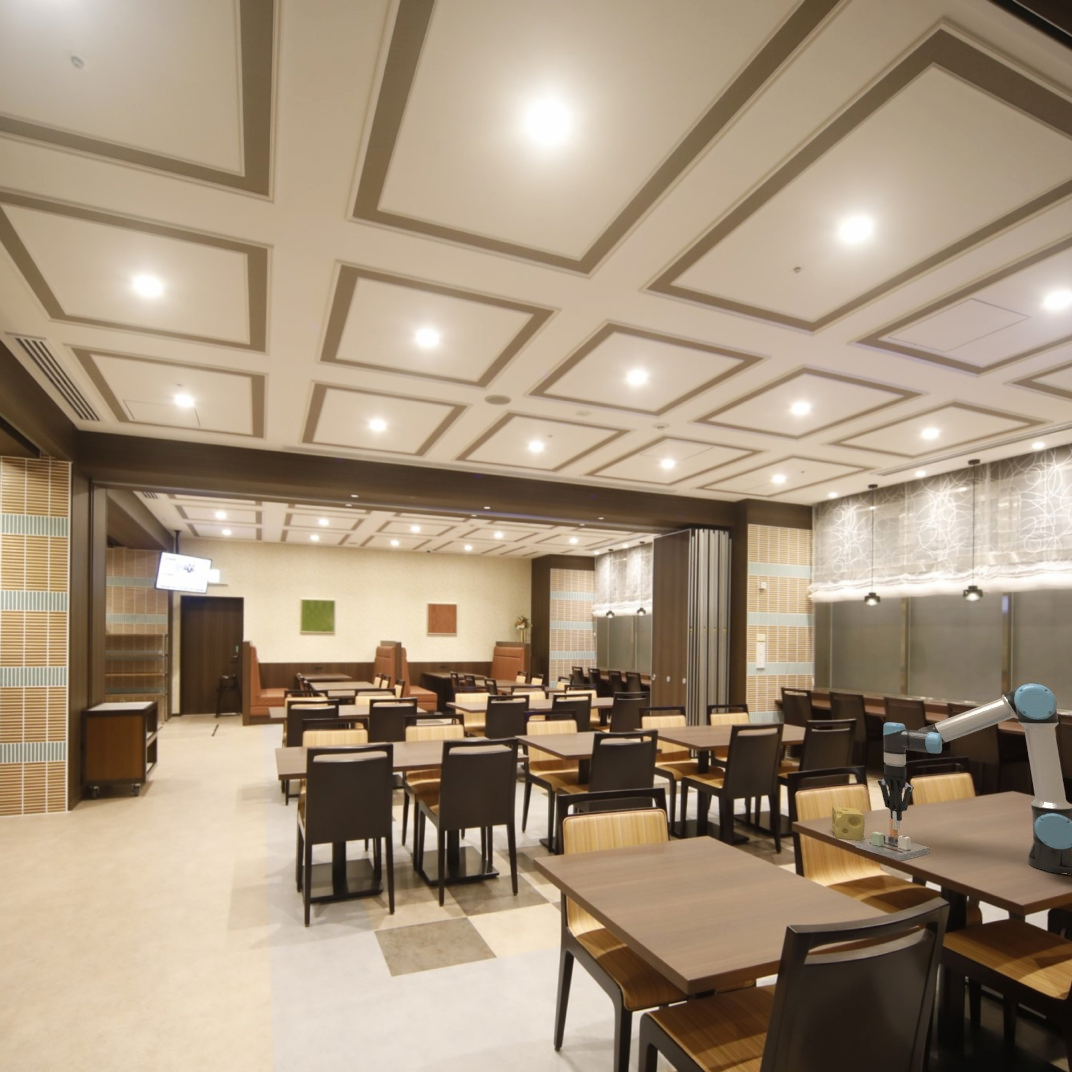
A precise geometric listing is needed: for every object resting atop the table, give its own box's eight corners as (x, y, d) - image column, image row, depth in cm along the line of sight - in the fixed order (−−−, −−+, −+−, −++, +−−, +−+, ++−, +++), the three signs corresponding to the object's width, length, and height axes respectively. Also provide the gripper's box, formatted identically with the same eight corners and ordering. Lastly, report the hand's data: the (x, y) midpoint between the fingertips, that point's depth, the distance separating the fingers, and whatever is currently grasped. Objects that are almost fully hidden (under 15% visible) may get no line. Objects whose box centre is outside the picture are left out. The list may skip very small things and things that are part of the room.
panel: (929, 853, 256) (929, 842, 257) (900, 861, 245) (900, 849, 246) (884, 840, 270) (884, 829, 271) (855, 847, 259) (855, 836, 260)
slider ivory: (910, 849, 253) (910, 836, 253) (906, 850, 251) (905, 837, 252) (902, 846, 255) (902, 834, 256) (898, 847, 254) (897, 835, 254)
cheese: (835, 838, 269) (835, 811, 271) (831, 830, 280) (830, 805, 281) (864, 841, 267) (864, 814, 268) (858, 834, 277) (858, 808, 279)
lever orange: (898, 840, 262) (897, 819, 264) (893, 841, 261) (893, 820, 262) (894, 839, 264) (894, 818, 265) (890, 840, 262) (889, 819, 263)
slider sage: (883, 845, 256) (883, 833, 256) (879, 846, 254) (879, 834, 255) (876, 842, 258) (875, 830, 259) (871, 843, 257) (871, 831, 257)
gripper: (917, 766, 262) (918, 832, 259) (884, 760, 272) (885, 823, 269) (906, 768, 258) (908, 834, 254) (873, 762, 268) (874, 825, 265)
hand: (896, 829), depth 262 cm, fingers closed
